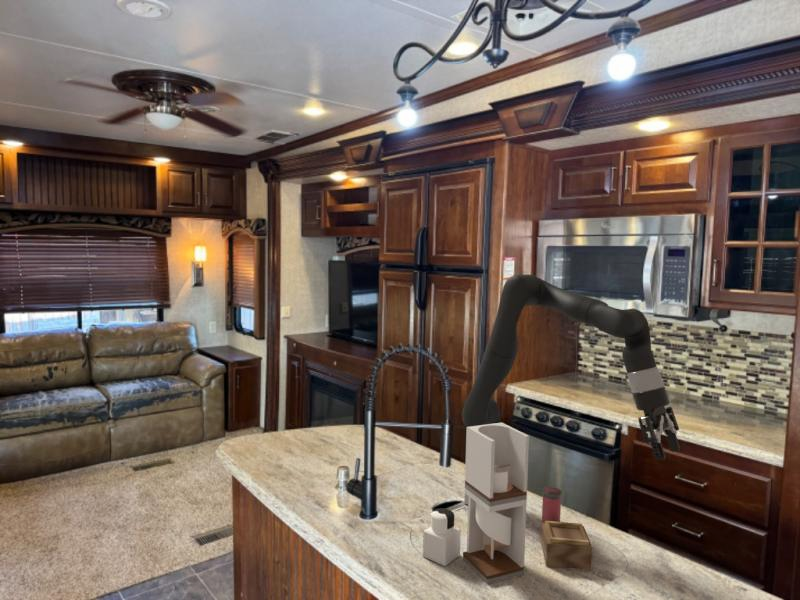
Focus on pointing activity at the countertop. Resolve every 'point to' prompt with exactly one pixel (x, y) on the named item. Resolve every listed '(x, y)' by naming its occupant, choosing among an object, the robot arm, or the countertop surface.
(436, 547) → the medicine bottle
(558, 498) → the red lidded canister
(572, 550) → the wooden box
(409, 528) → the countertop surface
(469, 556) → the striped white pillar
